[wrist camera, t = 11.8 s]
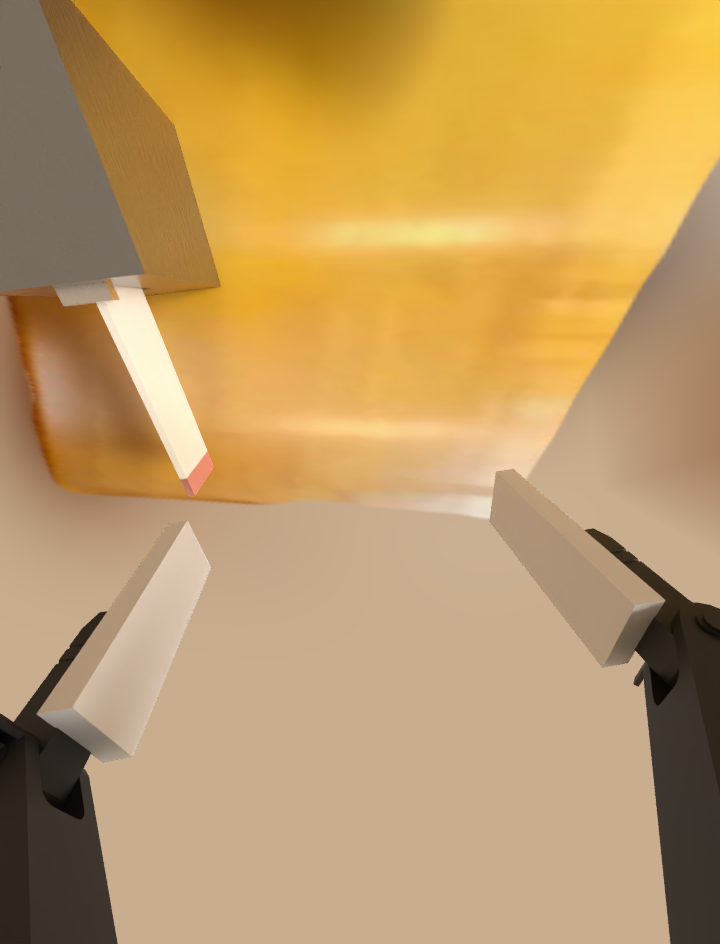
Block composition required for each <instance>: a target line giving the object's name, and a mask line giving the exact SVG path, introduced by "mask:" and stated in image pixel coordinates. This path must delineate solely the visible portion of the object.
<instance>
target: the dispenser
mask: <svg viewBox="0 0 720 944" xmlns="http://www.w3.org/2000/svg"><path fill="white" fill-rule="evenodd" d="M113 285H117V286H129V287H140V288H142V290H143V293H144V295H145V296H148V295H156V294H164V293H172V292H180V291H188V290H196V289H204V288H212V287H220V286H221V285H220V282H219V278H218V275H217V272H216V268H215V265H214V261H213V258H212V254H211V251H210V247H209V244H208V241H207V237H206V234H205V230H204V227H203V223H202V220H201V217H200V213H199V210H198V206H197V203H196V199H195V196H194V193H193V189H192V186H191V182H190V179H189V175H188V172H187V168H186V165H185V162H184V158H183V155H182V151H181V148H180V144H179V141H178V138H177V134H176V131H175V127H174V125H173V124H172V122H171V121H170V120H169V119H168V117H167V116H166V115H165V114H164V113H163V111H162V110H161V109H160V108H159V107H158V105H157V104H156V103H155V102H154V100H153V99H152V98H151V97H150V96H149V94H148V93H147V92H146V91H145V90H144V88H143V87H142V86H141V85H140V83H139V82H138V81H137V80H136V79H135V77H134V76H133V75H132V74H131V73H130V71H129V70H128V69H127V68H126V67H125V65H124V64H123V63H122V62H121V60H120V59H119V58H118V57H117V56H116V54H115V53H114V52H113V51H112V50H111V48H110V47H109V46H108V45H107V43H106V42H105V41H104V40H103V39H102V37H101V36H100V35H99V34H98V33H97V31H96V30H95V29H94V28H93V26H92V25H91V24H90V23H89V22H88V20H87V19H86V18H85V17H84V16H83V14H82V13H81V12H80V11H79V9H78V8H77V7H76V6H75V5H74V3H73V2H72V1H71V0H0V295H4V296H45V297H59V299H60V301H61V303H62V304H63V306H77V305H85V304H93V303H101V302H109V301H117V300H120V299H119V297H118V295H117V292H116V290H115V288H114V286H113Z"/></svg>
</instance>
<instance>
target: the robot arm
mask: <svg viewBox="0 0 720 944" xmlns="http://www.w3.org/2000/svg"><path fill="white" fill-rule="evenodd" d="M490 523H491V524H492V525H493V527H494V528H495V529H496V531H497V532H498V533H499V535H500V536H501V537H502V538H503V540H504V541H505V542H506V544H507V545H508V546H509V547H510V548H511V550H512V551H513V552H514V554H515V555H516V556H517V558H518V559H519V560H520V562H521V563H522V564H523V566H524V567H525V568H526V569H527V571H528V572H529V573H530V575H531V576H532V577H533V579H534V580H535V581H536V582H537V584H538V585H539V586H540V588H541V589H542V590H543V591H544V593H545V594H546V595H547V596H548V598H549V599H550V600H551V602H552V603H553V604H554V606H555V607H556V608H557V610H558V611H559V612H560V613H561V615H562V616H563V617H564V618H565V620H566V621H567V623H568V624H569V625H570V626H571V628H572V629H573V630H574V631H575V633H576V634H577V635H578V637H579V638H580V639H581V641H582V642H583V643H584V644H585V646H586V647H587V648H588V650H589V651H590V652H591V653H592V655H593V656H594V657H595V659H596V660H597V661H598V662H599V664H600V665H601V666H602V668H603V667H609V666H614V665H620V664H625V663H628V662H629V660H630V659H631V657H632V655H633V654H634V652H635V651H636V652H637V653H638V654H639V655H640V656H641V657H642V658H643V659H644V660H645V663H644V665H643V666H642V667H641V669H640V670H639V672H638V674H637V675H636V677H635V679H634V685H636V686H639V685H640V684H641V682H642V681H643V679H644V688H645V697H646V707H647V717H648V727H649V737H650V746H651V756H652V766H653V776H654V786H655V796H656V806H657V815H658V825H659V835H660V844H661V855H662V865H663V875H664V884H665V894H666V903H667V914H668V924H669V933H670V943H671V944H720V609H719V608H716V607H714V606H711V605H707V604H701V603H693V602H691V601H690V600H688V599H687V598H686V597H684V596H683V595H682V594H681V593H680V592H678V591H677V590H676V589H675V588H673V587H672V586H671V585H670V584H668V583H667V582H666V581H664V580H663V579H662V578H661V577H660V576H658V575H657V574H656V573H655V572H653V571H652V570H651V569H650V568H648V567H647V566H646V565H645V564H644V563H642V562H641V561H640V562H639V561H638V559H637V558H636V557H635V556H634V555H632V554H631V553H630V552H627V551H626V549H625V548H624V547H622V546H621V545H620V544H619V543H617V542H616V541H615V540H614V539H613V538H611V537H609V536H607V535H605V534H603V533H601V532H599V531H597V530H595V529H588V530H583V529H582V528H581V527H580V526H579V525H578V524H576V523H575V522H574V521H573V520H572V519H571V518H569V517H568V516H567V515H566V514H565V513H564V512H562V511H561V510H560V509H559V508H558V507H557V506H556V505H554V504H553V503H552V502H551V501H550V500H549V499H547V498H546V497H545V496H544V495H543V494H541V493H540V492H539V491H538V490H537V489H536V488H535V487H534V486H532V485H531V484H530V483H529V482H528V481H527V480H525V479H524V478H523V477H522V476H521V475H520V474H518V473H517V472H516V471H515V470H514V469H510V470H504V471H498V472H496V476H495V484H494V491H493V499H492V507H491V514H490ZM210 569H211V567H210V565H209V563H208V561H207V559H206V557H205V555H204V553H203V551H202V549H201V547H200V545H199V543H198V541H197V539H196V537H195V535H194V533H193V531H192V529H191V527H190V525H189V523H188V521H187V520H186V521H180V522H174V523H168V525H167V526H166V527H165V529H164V531H163V532H162V533H161V535H160V536H159V538H158V539H157V541H156V542H155V543H154V545H153V546H152V548H151V549H150V551H149V552H148V554H147V555H146V557H145V558H144V559H143V561H142V562H141V564H140V565H139V566H138V568H137V569H136V571H135V572H134V574H133V575H132V577H131V578H130V580H129V581H128V583H127V584H126V585H125V587H124V588H123V590H122V591H121V593H120V594H119V596H118V597H117V598H116V600H115V601H114V603H113V604H112V606H111V607H110V609H109V610H108V611H106V612H100V613H99V614H98V615H97V616H95V617H94V618H93V619H92V620H91V621H90V622H89V623H88V624H87V625H86V626H85V627H83V628H82V629H81V631H80V632H79V634H78V635H77V636H76V638H75V639H74V641H73V642H72V643H71V645H70V648H69V649H67V650H66V651H65V653H64V654H63V655H62V657H61V658H60V660H59V663H58V664H56V665H55V666H54V668H53V669H52V670H51V672H50V673H49V675H48V676H47V677H46V679H45V680H44V681H43V683H42V684H41V685H40V687H39V688H38V690H37V691H36V692H35V694H34V695H33V696H32V698H31V699H30V701H29V702H28V703H27V705H26V706H25V707H24V709H23V710H22V711H21V713H20V714H19V716H18V717H17V718H16V720H15V721H14V722H12V721H11V720H9V719H8V718H6V717H5V716H3V715H2V714H0V944H117V938H116V932H115V926H114V920H113V915H112V909H111V903H110V897H109V892H108V885H107V880H106V874H105V869H104V862H103V856H102V851H101V845H100V839H99V834H98V827H97V822H96V816H95V810H94V804H93V798H92V792H91V787H90V781H89V776H88V774H87V772H86V770H85V769H83V768H84V766H85V764H86V762H87V760H88V758H89V756H90V754H92V755H93V756H95V757H96V758H98V759H99V760H100V761H102V762H109V761H114V760H119V759H124V758H130V757H133V755H134V752H135V750H136V748H137V745H138V743H139V740H140V738H141V736H142V733H143V731H144V728H145V726H146V723H147V721H148V719H149V716H150V714H151V711H152V709H153V706H154V704H155V701H156V699H157V697H158V694H159V692H160V690H161V687H162V685H163V682H164V680H165V677H166V675H167V673H168V670H169V668H170V665H171V663H172V660H173V658H174V656H175V653H176V651H177V649H178V646H179V644H180V641H181V639H182V636H183V634H184V632H185V629H186V626H187V624H188V622H189V619H190V617H191V615H192V612H193V610H194V607H195V605H196V603H197V600H198V598H199V595H200V593H201V590H202V588H203V586H204V583H205V581H206V578H207V576H208V574H209V571H210Z"/></svg>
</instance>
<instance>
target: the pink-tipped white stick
mask: <svg viewBox="0 0 720 944" xmlns="http://www.w3.org/2000/svg"><path fill="white" fill-rule="evenodd" d="M113 286H114V288H115V290H116V292H117V295H118V297H119V299H120V300H117V301H109V302H101V303H96V304H97V306H98V308H99V310H100V313H101V315H102V317H103V319H104V321H105V323H106V325H107V327H108V329H109V331H110V333H111V336H112V338H113V340H114V342H115V344H116V346H117V348H118V350H119V352H120V354H121V356H122V359H123V361H124V363H125V365H126V367H127V369H128V371H129V373H130V375H131V377H132V379H133V382H134V384H135V386H136V388H137V390H138V392H139V394H140V396H141V398H142V400H143V403H144V405H145V407H146V409H147V411H148V413H149V415H150V417H151V419H152V421H153V423H154V426H155V428H156V430H157V432H158V434H159V436H160V438H161V440H162V442H163V444H164V446H165V449H166V451H167V453H168V455H169V457H170V459H171V461H172V463H173V465H174V467H175V469H176V472H177V474H178V476H179V478H180V480H181V483H182V485H183V487H184V489H185V491H186V493H187V495H188V497H191V496H195V495H196V494H197V492H198V491H199V489H200V487H201V486H202V484H203V483H204V481H205V480H206V478H207V477H208V475H209V474H210V472H211V471H212V469H213V468H214V466H213V463H212V461H211V458H210V456H209V453H208V451H207V449H206V446H205V444H204V441H203V439H202V436H201V434H200V432H199V429H198V427H197V424H196V422H195V419H194V417H193V414H192V412H191V409H190V407H189V404H188V402H187V399H186V397H185V394H184V392H183V389H182V387H181V384H180V382H179V379H178V377H177V374H176V372H175V370H174V367H173V365H172V362H171V360H170V357H169V355H168V352H167V350H166V347H165V345H164V342H163V340H162V337H161V335H160V332H159V330H158V327H157V325H156V322H155V320H154V317H153V315H152V313H151V310H150V308H149V305H148V303H147V300H146V298H145V295H144V293H143V290H142V288H140V287H129V286H117V285H113Z"/></svg>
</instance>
